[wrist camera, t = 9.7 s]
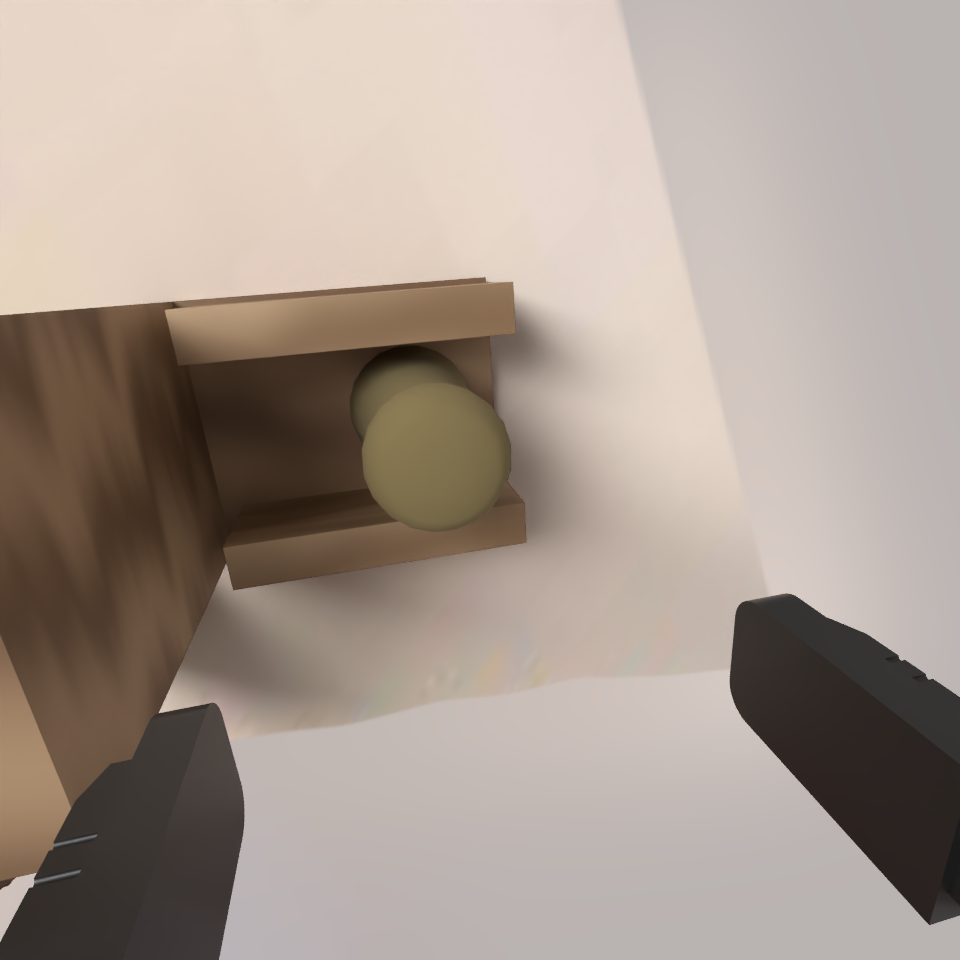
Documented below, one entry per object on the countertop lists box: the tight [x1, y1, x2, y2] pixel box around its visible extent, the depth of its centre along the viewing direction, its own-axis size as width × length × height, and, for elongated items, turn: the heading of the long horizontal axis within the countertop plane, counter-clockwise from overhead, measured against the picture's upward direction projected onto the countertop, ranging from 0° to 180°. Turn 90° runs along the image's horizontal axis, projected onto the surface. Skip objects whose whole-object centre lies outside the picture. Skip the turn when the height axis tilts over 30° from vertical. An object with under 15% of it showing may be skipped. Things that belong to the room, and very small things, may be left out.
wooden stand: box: [0, 277, 527, 881], centre depth 21 cm, size 12×16×18 cm
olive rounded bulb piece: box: [350, 346, 511, 532], centre depth 24 cm, size 6×6×11 cm
